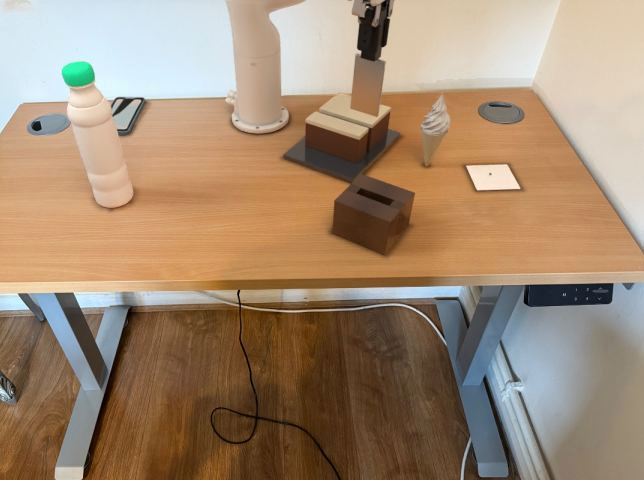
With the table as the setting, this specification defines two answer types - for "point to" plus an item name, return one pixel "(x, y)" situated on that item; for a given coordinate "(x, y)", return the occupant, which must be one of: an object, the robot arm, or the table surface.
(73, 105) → the water bottle
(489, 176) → the coaster
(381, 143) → the cake board
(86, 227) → the table surface
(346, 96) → the cake
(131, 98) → the smartphone
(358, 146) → the cake slice
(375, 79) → the knife
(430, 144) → the ice cream cone
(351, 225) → the knife block
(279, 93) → the robot arm
